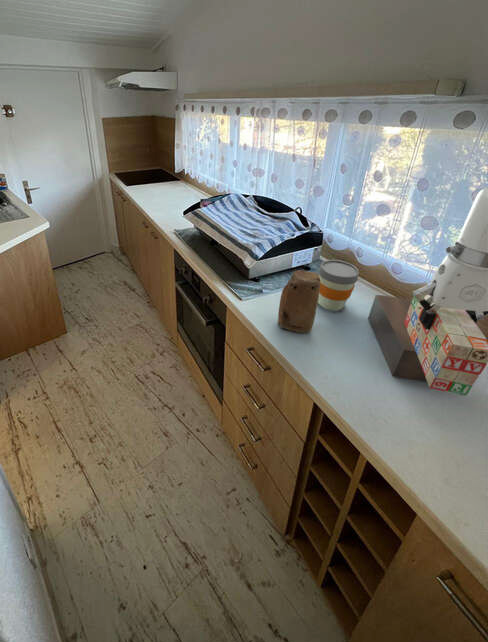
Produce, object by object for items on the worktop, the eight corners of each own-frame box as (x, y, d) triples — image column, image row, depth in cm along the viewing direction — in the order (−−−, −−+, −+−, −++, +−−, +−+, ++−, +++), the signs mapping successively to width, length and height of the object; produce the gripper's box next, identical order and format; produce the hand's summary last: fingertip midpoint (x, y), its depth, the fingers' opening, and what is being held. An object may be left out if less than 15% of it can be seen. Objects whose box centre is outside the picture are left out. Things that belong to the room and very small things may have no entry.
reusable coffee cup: (327, 289, 120) (335, 256, 113) (356, 306, 111) (367, 271, 104) (305, 299, 115) (312, 265, 108) (333, 318, 105) (343, 281, 98)
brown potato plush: (309, 321, 104) (320, 271, 95) (311, 336, 98) (324, 284, 88) (276, 316, 107) (284, 267, 97) (277, 330, 100) (285, 279, 91)
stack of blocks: (402, 321, 79) (418, 281, 73) (431, 326, 77) (449, 286, 72) (429, 388, 62) (453, 343, 56) (467, 397, 60) (496, 351, 54)
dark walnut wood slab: (413, 324, 102) (424, 300, 97) (451, 386, 81) (467, 358, 76) (367, 318, 105) (375, 294, 100) (392, 376, 84) (404, 349, 79)
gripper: (435, 259, 56) (405, 333, 64) (551, 268, 52) (502, 345, 61) (418, 242, 62) (392, 311, 71) (519, 248, 59) (480, 321, 67)
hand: (443, 326), depth 66 cm, fingers closed on stack of blocks, 6 cm apart
